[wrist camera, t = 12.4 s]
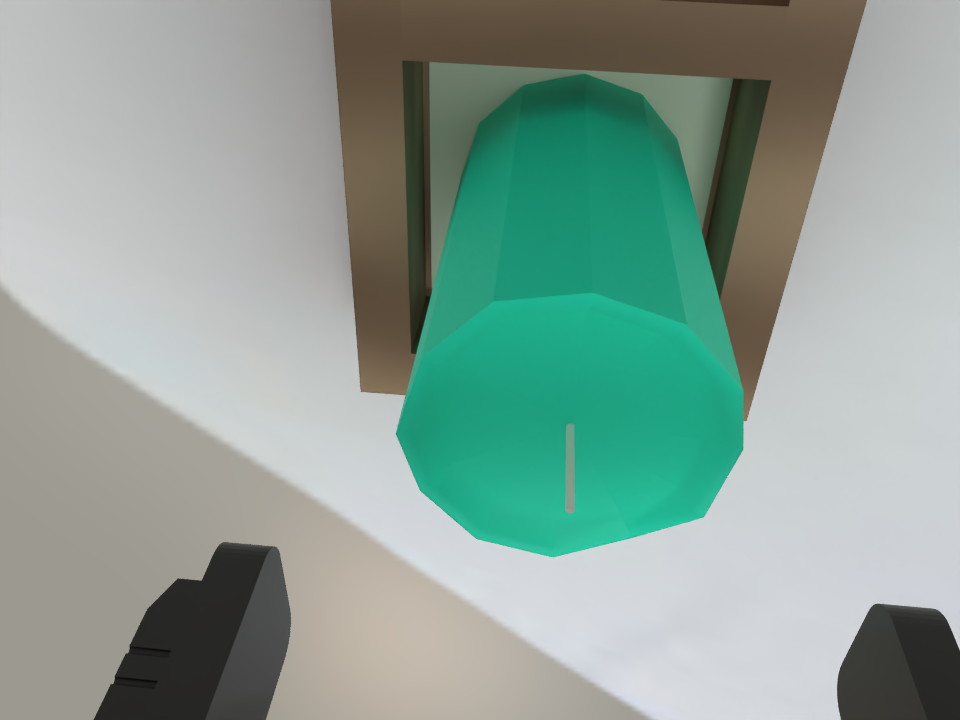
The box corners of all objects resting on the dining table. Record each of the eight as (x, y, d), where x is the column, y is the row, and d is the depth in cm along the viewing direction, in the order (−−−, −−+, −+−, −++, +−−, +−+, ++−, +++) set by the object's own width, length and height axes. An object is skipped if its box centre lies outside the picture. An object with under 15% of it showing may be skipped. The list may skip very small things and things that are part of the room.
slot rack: (337, -631, 15) (274, -732, 12) (964, -627, 14) (1076, -733, 11) (385, 315, 27) (361, 391, 24) (725, 339, 27) (746, 421, 23)
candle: (458, 269, 25) (385, 608, 15) (465, 64, 21) (376, 337, 11) (661, 287, 24) (719, 643, 15) (705, 82, 21) (818, 377, 11)
